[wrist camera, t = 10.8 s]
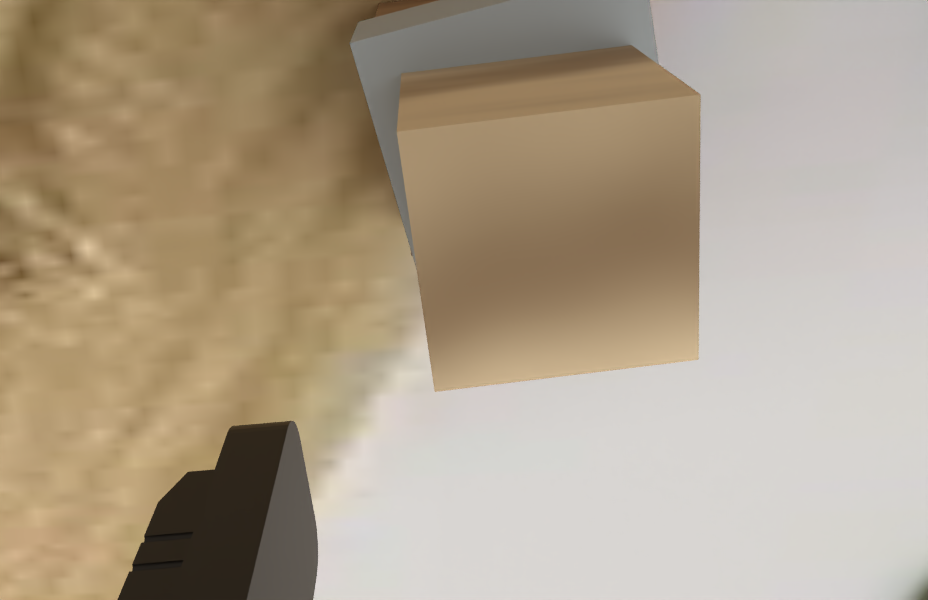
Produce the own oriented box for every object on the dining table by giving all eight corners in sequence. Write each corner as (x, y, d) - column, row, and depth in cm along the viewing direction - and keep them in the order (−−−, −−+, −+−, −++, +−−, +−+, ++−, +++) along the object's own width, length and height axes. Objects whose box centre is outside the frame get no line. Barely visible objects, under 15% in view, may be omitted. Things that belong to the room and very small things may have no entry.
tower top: (358, 21, 23) (349, 43, 20) (612, -47, 23) (644, -36, 20) (425, 253, 26) (427, 303, 23) (651, 197, 26) (683, 240, 23)
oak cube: (401, 73, 20) (396, 132, 16) (631, 44, 20) (700, 94, 16) (430, 282, 23) (434, 391, 18) (637, 257, 23) (698, 359, 18)
